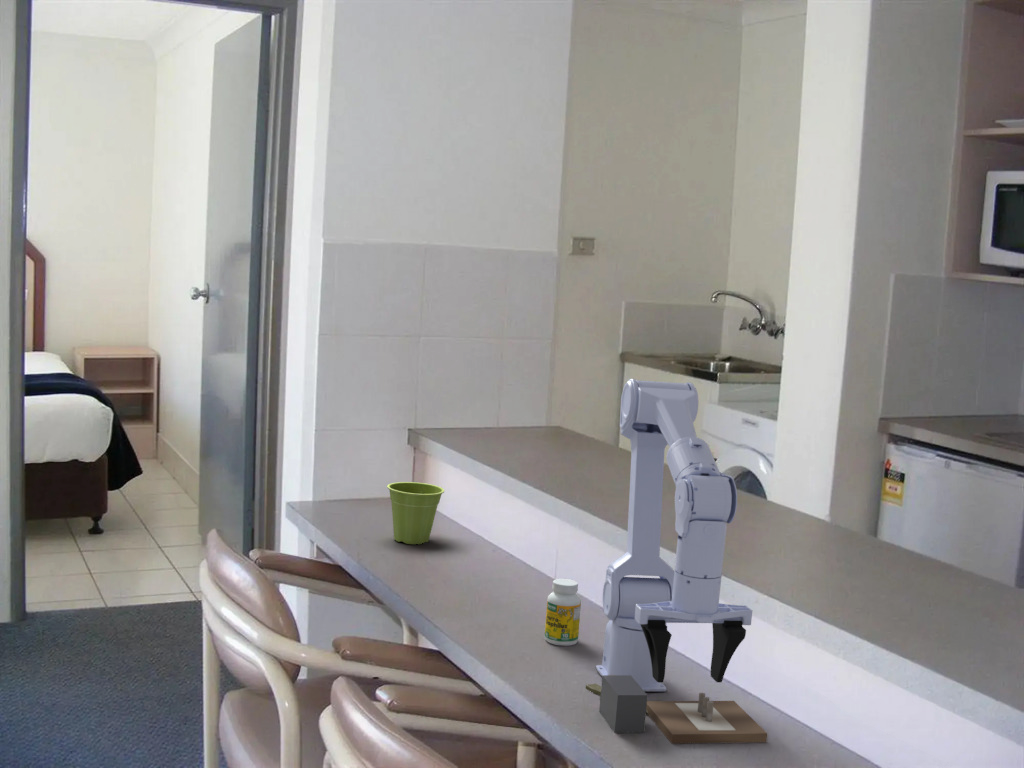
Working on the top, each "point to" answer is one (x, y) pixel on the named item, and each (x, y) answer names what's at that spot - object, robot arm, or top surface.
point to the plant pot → (413, 510)
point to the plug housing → (623, 703)
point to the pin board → (705, 721)
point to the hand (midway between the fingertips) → (687, 679)
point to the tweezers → (597, 690)
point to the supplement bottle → (563, 613)
